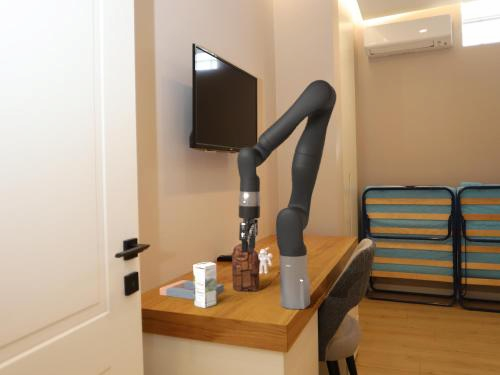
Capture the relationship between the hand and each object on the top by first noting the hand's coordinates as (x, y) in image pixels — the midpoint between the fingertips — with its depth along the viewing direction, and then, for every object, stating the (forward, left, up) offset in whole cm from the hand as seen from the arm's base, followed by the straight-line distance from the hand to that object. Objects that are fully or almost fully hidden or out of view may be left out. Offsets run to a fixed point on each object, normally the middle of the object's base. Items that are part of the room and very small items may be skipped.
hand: (248, 250), depth 139 cm
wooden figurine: (+9, -13, -18) cm, 24 cm away
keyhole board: (+26, -1, -18) cm, 32 cm away
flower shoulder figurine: (+15, -41, -18) cm, 47 cm away
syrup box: (+12, +10, -18) cm, 24 cm away
